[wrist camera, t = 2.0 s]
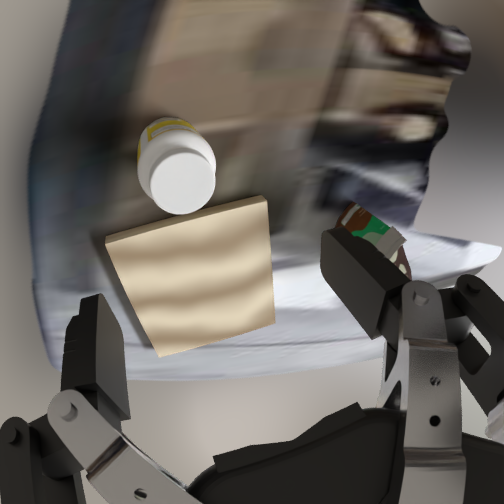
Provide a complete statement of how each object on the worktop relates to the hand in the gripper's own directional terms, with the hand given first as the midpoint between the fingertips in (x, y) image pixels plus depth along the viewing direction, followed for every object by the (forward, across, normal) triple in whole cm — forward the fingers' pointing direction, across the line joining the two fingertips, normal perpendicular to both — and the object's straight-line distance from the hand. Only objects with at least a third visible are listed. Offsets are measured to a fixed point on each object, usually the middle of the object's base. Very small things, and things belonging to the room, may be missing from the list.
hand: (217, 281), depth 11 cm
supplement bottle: (+19, 0, 0) cm, 19 cm away
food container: (+19, -19, +16) cm, 31 cm away
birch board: (+19, 0, +16) cm, 25 cm away
